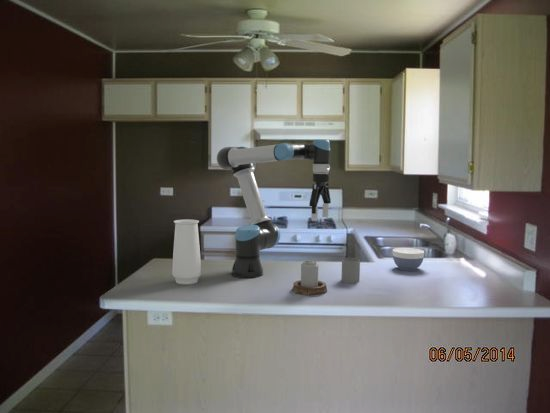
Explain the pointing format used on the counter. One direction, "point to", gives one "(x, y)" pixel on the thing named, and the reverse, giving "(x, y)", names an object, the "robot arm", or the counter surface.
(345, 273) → the cup
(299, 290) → the tray
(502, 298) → the counter surface
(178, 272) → the vase
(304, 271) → the can
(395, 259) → the bowl
